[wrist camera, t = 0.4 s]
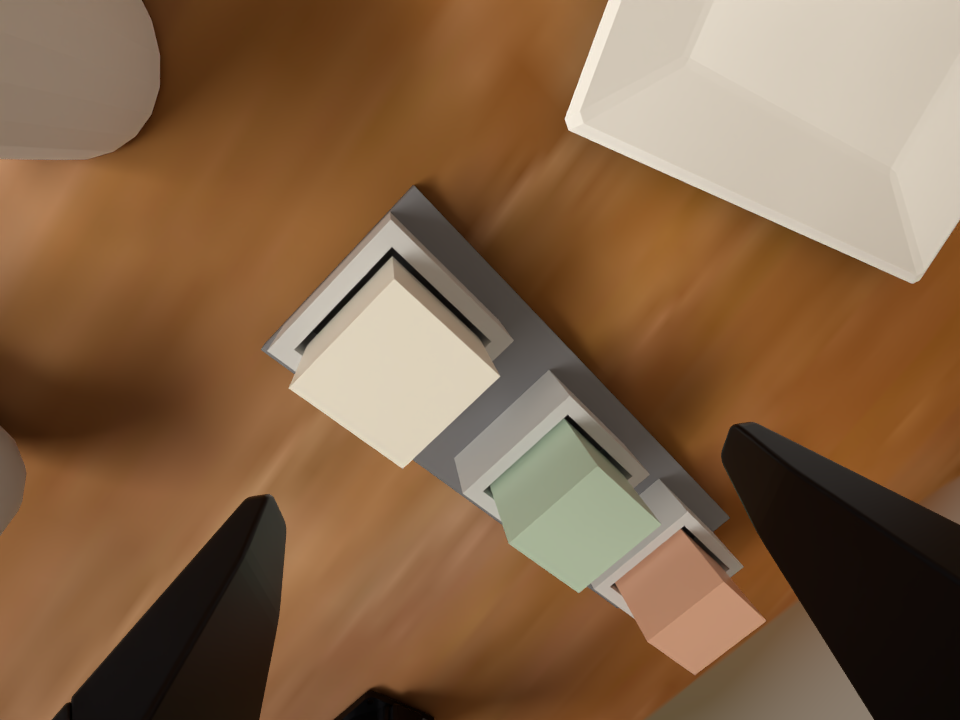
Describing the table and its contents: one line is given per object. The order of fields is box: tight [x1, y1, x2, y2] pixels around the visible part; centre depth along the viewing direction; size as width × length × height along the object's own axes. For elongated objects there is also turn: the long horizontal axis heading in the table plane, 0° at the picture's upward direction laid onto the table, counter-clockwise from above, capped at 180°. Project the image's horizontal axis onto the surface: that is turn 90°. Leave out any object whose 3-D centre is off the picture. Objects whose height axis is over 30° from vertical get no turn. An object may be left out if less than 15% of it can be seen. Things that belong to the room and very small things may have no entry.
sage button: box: [490, 418, 662, 593], centre depth 22 cm, size 5×5×4 cm
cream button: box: [289, 256, 500, 469], centre depth 17 cm, size 5×5×4 cm
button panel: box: [261, 185, 744, 619], centre depth 25 cm, size 10×29×4 cm, turn 43°
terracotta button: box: [615, 529, 766, 675], centre depth 26 cm, size 5×5×4 cm
